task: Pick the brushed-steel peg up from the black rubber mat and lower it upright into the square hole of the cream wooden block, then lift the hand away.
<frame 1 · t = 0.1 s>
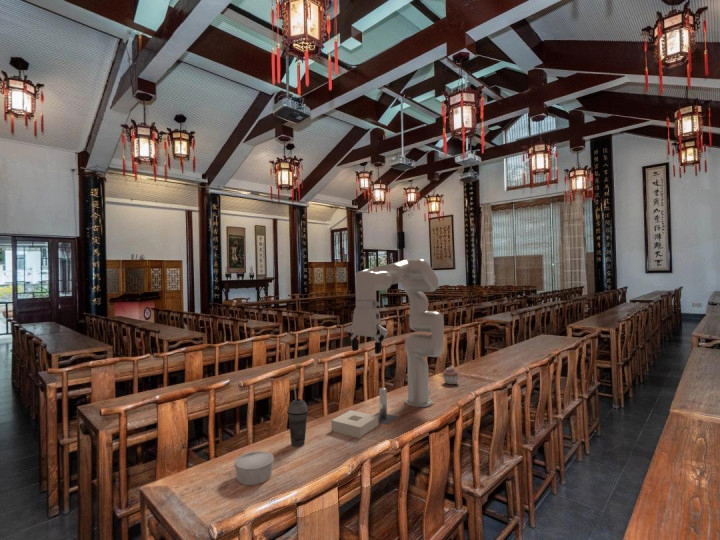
hand: (366, 351, 137), 31 cm above the table, tool pointing down, fingers open, 9 cm apart
beverage cup: (297, 444, 131), on the table
peg: (383, 418, 154), resting on mat
hole block: (355, 428, 145), on the table
cupcake: (451, 383, 205), on the table
ramekin: (254, 478, 110), on the table
mat: (383, 419, 154), on the table
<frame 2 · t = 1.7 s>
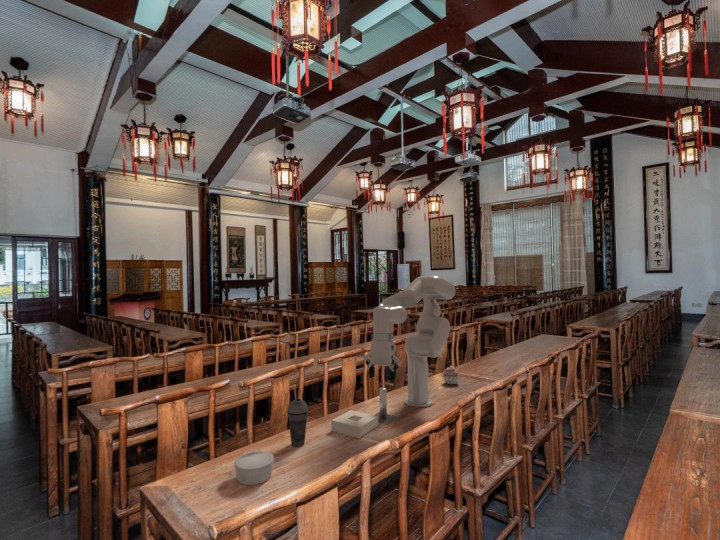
hand: (382, 378, 154), 17 cm above the table, tool pointing down, fingers open, 9 cm apart
nothing on the table moved.
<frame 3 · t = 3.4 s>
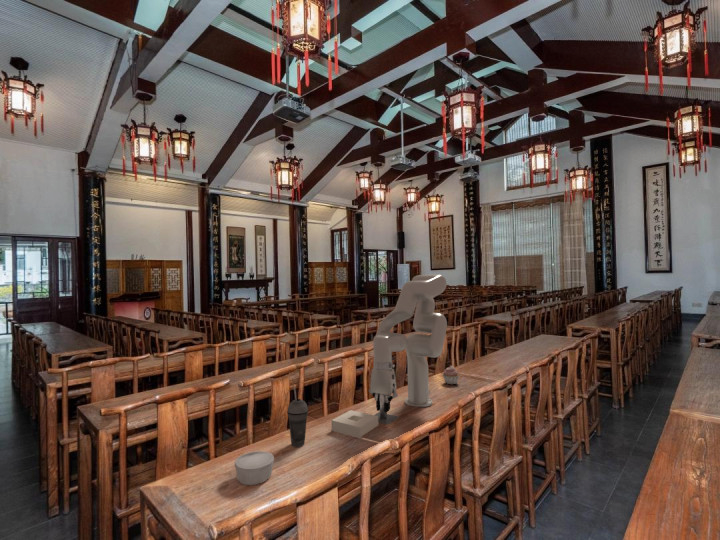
hand: (383, 410, 154), 4 cm above the table, tool pointing down, fingers closed on peg, 3 cm apart
peg: (383, 418, 154), point 1 cm above the table, touching gripper, mat
everything else where it was.
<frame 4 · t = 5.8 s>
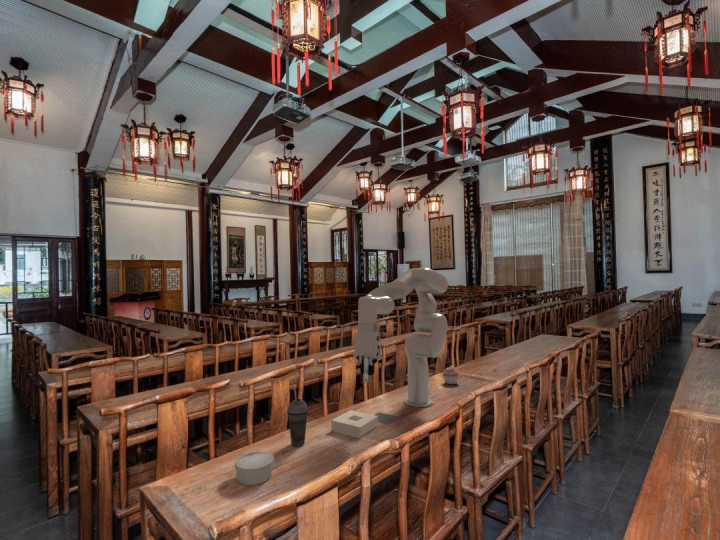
hand: (367, 373, 149), 20 cm above the table, tool pointing down, fingers closed on peg, 3 cm apart
peg: (367, 381, 149), point 17 cm above the table, touching gripper
everything else where it was.
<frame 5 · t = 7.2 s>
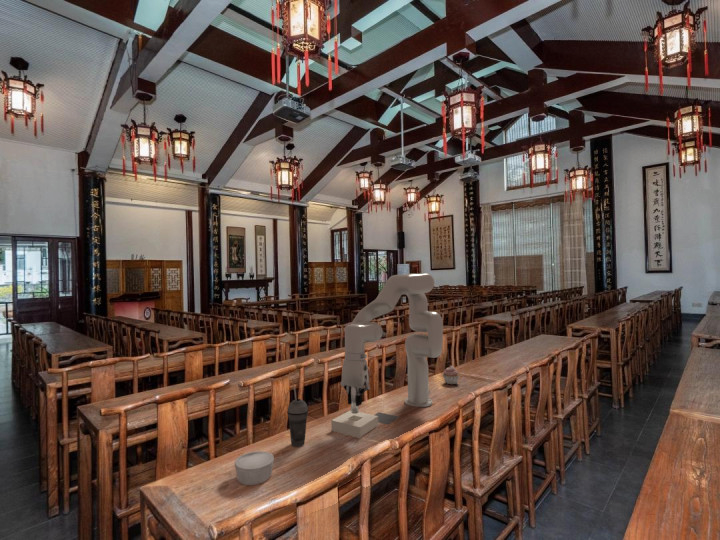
hand: (354, 403, 145), 10 cm above the table, tool pointing down, fingers closed on peg, 3 cm apart
peg: (354, 412, 145), point 6 cm above the table, touching gripper
everything else where it was.
when the fingers open (5 cm above the table, at t = 8.4 s): peg drops 2 cm, resting in hole block.
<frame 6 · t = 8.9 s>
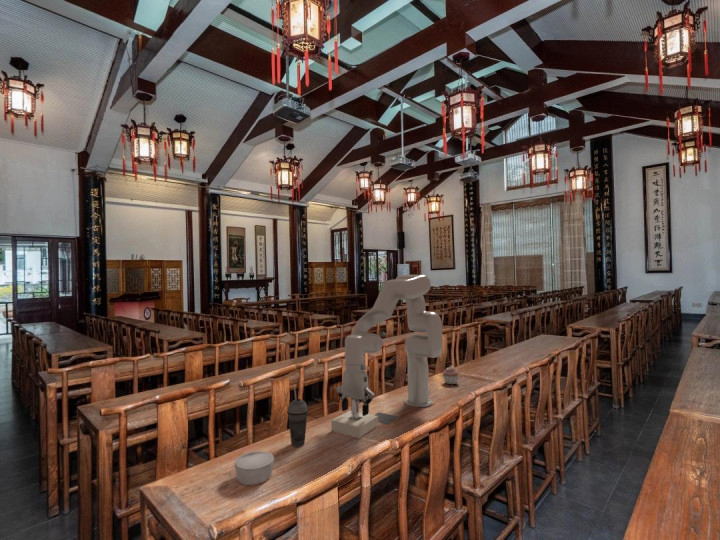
hand: (355, 412, 145), 6 cm above the table, tool pointing down, fingers open, 9 cm apart
peg: (355, 428, 145), resting in hole block
everything else where it was.
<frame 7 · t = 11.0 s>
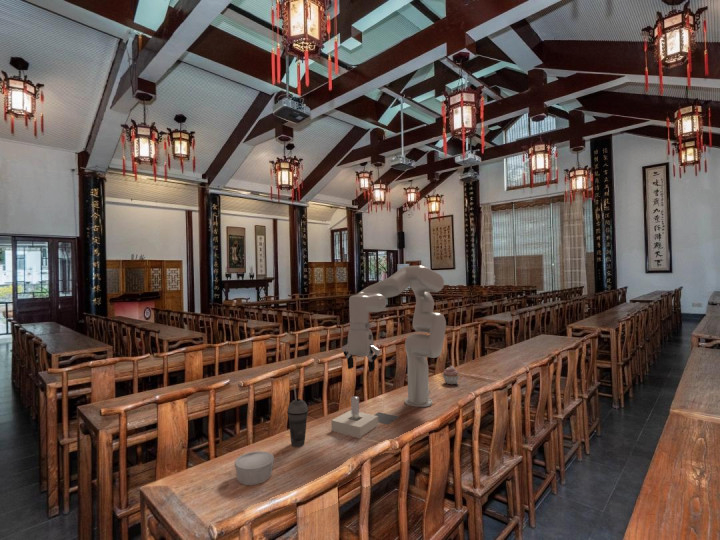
hand: (361, 369, 149), 22 cm above the table, tool pointing down, fingers open, 9 cm apart
nothing on the table moved.
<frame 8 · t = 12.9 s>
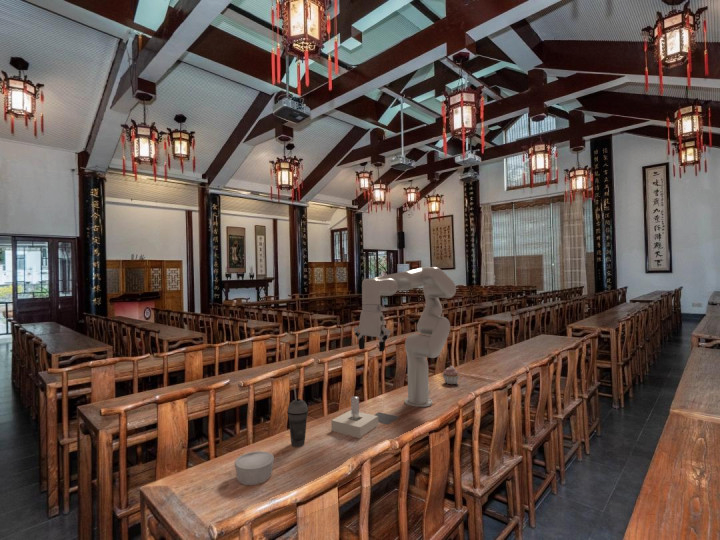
hand: (371, 349, 155), 28 cm above the table, tool pointing down, fingers open, 9 cm apart
nothing on the table moved.
at the end: peg 0.0 cm off-centre on the hole block, point 0.0 cm above the hole block's base; peg tilted 0°; the gripper is holding nothing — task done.
